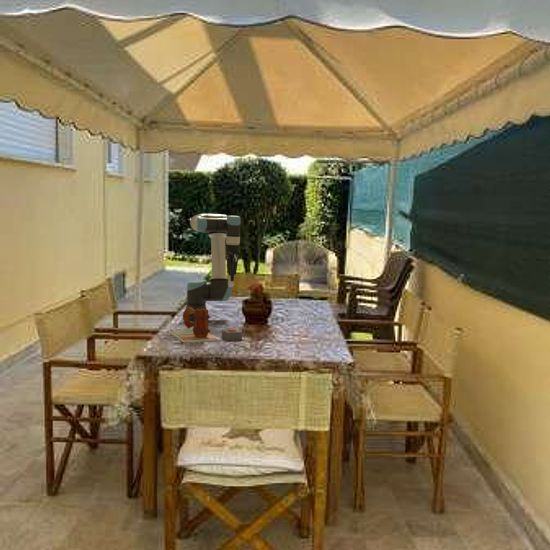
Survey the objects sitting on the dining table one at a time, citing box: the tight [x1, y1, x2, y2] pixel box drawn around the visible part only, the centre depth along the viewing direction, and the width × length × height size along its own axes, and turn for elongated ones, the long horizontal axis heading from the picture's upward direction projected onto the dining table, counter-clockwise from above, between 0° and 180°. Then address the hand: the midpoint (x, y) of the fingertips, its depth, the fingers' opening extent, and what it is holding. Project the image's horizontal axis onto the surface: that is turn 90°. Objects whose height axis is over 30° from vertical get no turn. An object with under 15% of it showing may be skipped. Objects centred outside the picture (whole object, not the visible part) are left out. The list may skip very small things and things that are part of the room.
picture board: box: [168, 329, 219, 343], centre depth 333 cm, size 26×18×1 cm
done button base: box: [221, 328, 243, 341], centre depth 332 cm, size 8×8×4 cm
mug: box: [182, 307, 211, 337], centre depth 327 cm, size 15×8×15 cm, turn 75°
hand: (231, 286), depth 350 cm, fingers closed
